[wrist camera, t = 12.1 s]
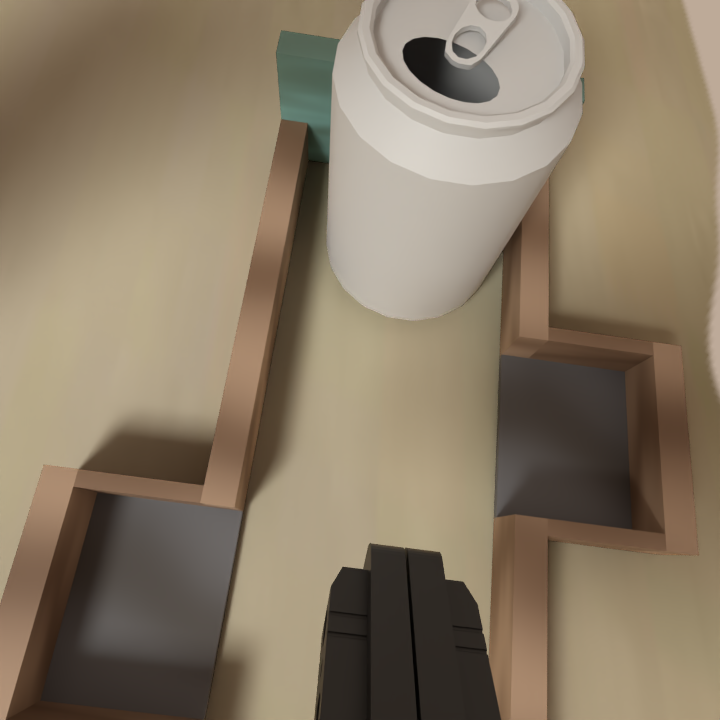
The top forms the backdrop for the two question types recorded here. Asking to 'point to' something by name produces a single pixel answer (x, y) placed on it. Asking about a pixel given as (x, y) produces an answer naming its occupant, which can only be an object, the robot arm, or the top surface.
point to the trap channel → (234, 462)
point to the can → (443, 142)
